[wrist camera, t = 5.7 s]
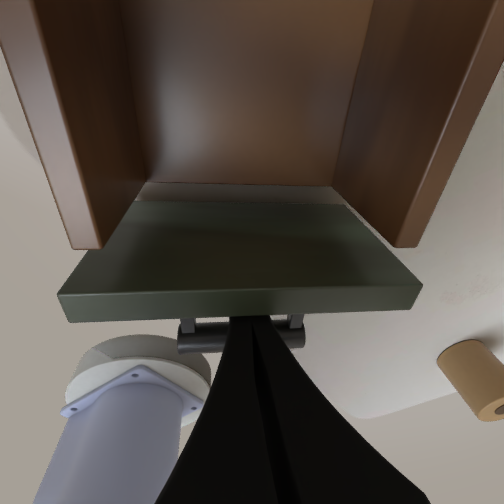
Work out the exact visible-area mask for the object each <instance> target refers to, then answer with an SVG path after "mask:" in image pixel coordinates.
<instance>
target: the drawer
mask: <svg viewBox="0 0 504 504" xmlns="http://www.w3.org/2000/svg"><path fill="white" fill-rule="evenodd" d="M0 47H1V49H2V52H3V55H4V58H5V61H6V64H7V66H8V69H9V72H10V75H11V78H12V81H13V83H14V86H15V89H16V92H17V95H18V98H19V100H20V103H21V106H22V109H23V112H24V115H25V117H26V120H27V123H28V126H29V129H30V132H31V134H32V137H33V140H34V143H35V146H36V149H37V151H38V154H39V157H40V160H41V163H42V166H43V168H44V171H45V174H46V177H47V180H48V182H49V185H50V188H51V191H52V194H53V197H54V199H55V202H56V205H57V208H58V211H59V214H60V216H61V219H62V222H63V225H64V228H65V230H66V233H67V236H68V239H69V242H70V244H71V248H72V249H74V250H88V251H87V253H86V254H85V255H84V257H83V258H82V260H81V261H80V262H79V264H78V265H77V267H76V268H75V269H74V271H73V272H72V273H71V275H70V276H69V278H68V279H67V281H66V282H65V283H64V285H63V286H62V287H61V289H60V290H59V291H58V293H57V297H58V299H59V301H60V304H61V306H62V308H63V310H64V312H65V315H66V317H67V320H68V322H70V323H78V322H105V321H131V320H157V319H180V321H181V324H180V325H179V328H178V336H177V349H178V354H180V355H181V354H200V353H218V352H223V349H224V345H225V341H226V338H227V333H228V327H229V322H212V323H211V322H210V323H196V318H207V317H235V316H261V315H287V314H288V316H287V319H283V320H272V322H273V323H274V325H275V327H276V329H277V330H278V332H279V334H280V336H281V337H282V339H283V340H284V342H285V344H286V345H287V347H288V348H289V349H290V348H303V347H304V345H305V339H306V335H305V328H304V324H303V318H304V314H313V313H339V312H365V311H391V310H410V309H411V308H412V306H413V304H414V302H415V300H416V298H417V297H418V295H419V293H420V291H421V289H422V287H423V284H422V283H421V282H420V281H419V280H418V279H417V278H416V277H415V276H414V275H413V274H412V273H411V272H410V270H409V269H408V268H407V267H406V266H405V265H404V264H403V263H402V262H401V261H400V260H399V259H398V258H397V257H396V256H395V255H394V254H393V253H392V252H391V251H390V250H389V249H388V248H387V247H386V246H385V245H384V244H383V243H382V242H381V241H380V240H379V239H378V238H377V237H376V236H375V235H374V234H373V233H372V232H371V231H370V230H369V229H368V228H367V227H366V226H365V225H364V224H363V223H362V222H361V221H360V220H359V219H358V218H357V217H356V216H355V215H354V214H353V213H352V212H351V211H350V210H349V209H348V208H347V207H346V206H345V205H344V204H293V203H228V202H164V201H134V200H135V198H136V197H137V195H138V194H139V192H140V191H141V189H142V187H143V186H144V184H145V183H146V182H161V183H203V184H244V185H285V186H327V187H332V188H333V189H334V190H335V191H336V192H337V193H338V194H340V195H341V196H342V197H343V198H344V199H345V200H346V201H347V202H348V203H349V204H350V205H351V206H352V207H353V208H354V209H355V210H356V211H357V212H358V213H359V214H360V215H361V216H362V217H363V218H364V219H365V220H366V221H367V222H368V223H369V224H370V225H371V226H372V227H373V228H374V229H375V230H377V231H378V232H379V233H380V234H381V235H382V236H383V237H384V238H385V239H386V240H387V241H388V242H389V243H390V244H391V245H392V246H393V247H395V248H415V247H417V246H418V244H419V241H420V239H421V237H422V235H423V233H424V231H425V229H426V226H427V224H428V222H429V220H430V218H431V216H432V213H433V211H434V209H435V207H436V205H437V203H438V201H439V198H440V196H441V194H442V192H443V190H444V188H445V185H446V183H447V181H448V179H449V177H450V175H451V173H452V170H453V168H454V166H455V164H456V162H457V160H458V158H459V155H460V153H461V151H462V149H463V147H464V145H465V142H466V140H467V138H468V136H469V134H470V132H471V130H472V127H473V125H474V123H475V121H476V119H477V117H478V115H479V112H480V110H481V108H482V106H483V104H484V102H485V99H486V97H487V95H488V93H489V91H490V89H491V87H492V84H493V82H494V80H495V78H496V76H497V74H498V72H499V69H500V67H501V65H502V63H503V61H504V0H0Z"/></svg>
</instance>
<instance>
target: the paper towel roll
mask: <svg viewBox="0 0 504 504" xmlns="http://www.w3.org/2000/svg"><path fill="white" fill-rule="evenodd" d="M437 365H438V366H439V368H440V369H441V370H442V372H443V373H444V374H445V376H446V377H447V378H448V380H449V381H450V382H451V384H452V385H453V386H454V387H455V389H456V390H457V391H458V393H459V394H460V395H461V397H462V398H463V399H464V401H465V402H466V403H467V404H468V406H469V407H470V408H471V410H472V411H473V412H474V414H475V415H476V416H477V418H478V419H479V420H481V421H497V420H501V419H504V365H503V364H502V362H501V361H500V360H499V359H498V358H497V357H496V356H495V355H494V354H493V353H492V352H491V351H490V350H489V349H488V348H487V347H486V346H485V345H484V344H483V343H482V342H480V341H477V340H468V341H463V342H460V343H457V344H455V345H453V346H451V347H449V348H448V349H446V350H445V351H444V352H443V353H442V354H441V355H440V356H439V358H438V360H437Z"/></svg>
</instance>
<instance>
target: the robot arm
mask: <svg viewBox="0 0 504 504" xmlns="http://www.w3.org/2000/svg"><path fill="white" fill-rule="evenodd" d="M202 407H203V408H202ZM201 408H202V411H201V413H200V415H199V417H198V419H197V422H196V424H195V426H194V428H193V431H192V433H191V435H190V437H189V439H188V441H187V443H186V445H185V447H184V449H183V451H182V453H181V455H180V457H179V459H178V451H179V450H178V449H179V439H180V430H181V420H182V417H184V416H186V415H188V414H190V413H192V412H194V411H196V410H198V409H201ZM60 414H61V415H62V416H64V417H67V418H69V419H68V421H67V424H66V426H65V428H64V431H63V433H62V435H61V438H60V440H59V442H58V445H57V447H56V450H55V452H54V454H53V456H52V459H51V461H50V463H49V466H48V468H47V470H46V473H45V475H44V477H43V480H42V482H41V484H40V487H39V489H38V491H37V494H36V496H35V499H34V502H33V504H431V503H430V501H429V500H428V498H427V497H426V495H425V494H424V492H422V491H421V490H420V489H419V488H418V487H417V486H415V485H414V484H413V483H412V482H411V481H409V480H408V479H407V478H406V477H405V476H404V475H402V474H401V473H400V472H399V471H398V470H397V469H396V468H395V467H394V466H393V465H392V464H390V463H389V462H388V461H387V460H386V459H385V458H384V457H383V456H381V454H380V453H379V452H378V451H376V450H375V449H374V448H373V447H372V446H371V445H370V444H369V443H368V442H367V441H366V440H365V439H364V438H363V437H362V436H361V435H360V434H359V433H358V432H357V431H356V430H355V429H354V428H353V427H352V426H351V425H350V424H349V423H348V422H347V421H346V419H344V417H343V416H342V415H341V414H340V413H339V412H338V411H337V410H336V409H335V408H334V407H333V405H332V404H331V403H330V402H329V401H328V400H327V399H326V397H325V396H324V395H323V394H322V393H321V391H320V390H319V389H318V388H317V387H316V385H315V384H314V383H313V382H312V380H311V379H310V378H309V376H308V375H307V374H306V373H305V371H304V370H303V368H302V367H301V366H300V364H299V363H298V362H297V360H296V359H295V357H294V356H293V354H292V353H291V351H290V350H289V348H288V347H287V345H286V344H285V342H284V340H283V339H282V337H281V336H280V334H279V332H278V330H277V329H276V327H275V325H274V323H273V322H272V320H271V318H270V316H269V315H261V316H235V317H229V327H228V333H227V338H226V341H225V345H224V349H223V353H222V357H221V360H220V363H219V366H218V369H217V372H216V375H215V378H214V381H213V383H212V386H211V389H210V391H209V394H208V396H207V399H206V401H205V404H204V401H203V400H201V399H200V398H198V397H196V396H195V395H193V394H191V393H190V392H188V391H186V390H185V389H183V388H181V387H180V386H178V385H176V384H175V383H173V382H171V381H170V380H168V379H166V378H165V377H163V376H161V375H160V374H158V373H156V372H155V371H153V370H151V369H150V368H148V367H146V366H144V365H137V366H135V367H133V368H132V369H130V370H128V371H126V372H125V373H123V374H121V375H119V376H118V377H116V378H114V379H112V380H110V381H109V382H107V383H105V384H103V385H102V386H100V387H98V388H96V389H95V390H93V391H91V392H89V393H88V394H86V395H84V396H82V397H80V398H79V399H77V400H75V401H73V402H72V403H70V404H68V405H66V406H65V407H63V408H62V409H61V411H60Z"/></svg>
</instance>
